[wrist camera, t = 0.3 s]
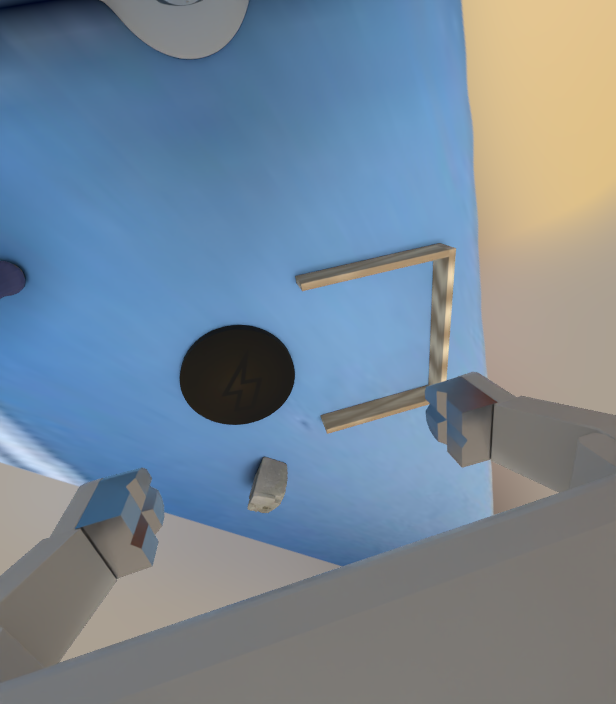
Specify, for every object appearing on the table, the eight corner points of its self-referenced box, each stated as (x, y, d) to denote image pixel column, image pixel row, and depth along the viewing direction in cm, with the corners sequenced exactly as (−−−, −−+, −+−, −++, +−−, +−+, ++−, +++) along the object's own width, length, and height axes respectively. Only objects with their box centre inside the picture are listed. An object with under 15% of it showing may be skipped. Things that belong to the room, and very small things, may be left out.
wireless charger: (273, 308, 49) (275, 313, 48) (304, 396, 59) (306, 402, 57) (159, 347, 48) (157, 353, 47) (209, 430, 57) (208, 438, 56)
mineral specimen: (246, 455, 61) (259, 491, 55) (285, 456, 66) (302, 488, 60) (233, 484, 63) (244, 521, 57) (272, 482, 68) (286, 516, 62)
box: (295, 276, 47) (301, 284, 44) (440, 243, 50) (455, 248, 47) (321, 419, 62) (327, 433, 58) (433, 387, 64) (444, 399, 61)
